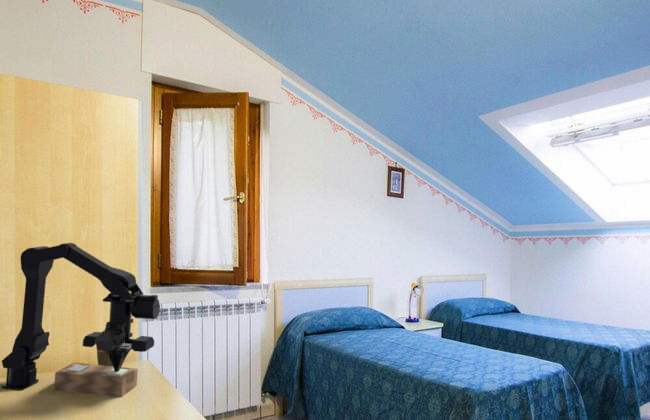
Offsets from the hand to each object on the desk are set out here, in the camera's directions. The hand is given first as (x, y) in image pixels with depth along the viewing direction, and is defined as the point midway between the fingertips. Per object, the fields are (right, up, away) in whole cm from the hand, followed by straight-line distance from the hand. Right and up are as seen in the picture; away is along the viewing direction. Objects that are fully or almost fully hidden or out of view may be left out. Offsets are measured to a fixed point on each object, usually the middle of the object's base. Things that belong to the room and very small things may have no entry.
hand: (117, 371), depth 126 cm
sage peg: (0, -5, 0) cm, 5 cm away
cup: (-8, -5, +12) cm, 15 cm away
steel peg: (-12, -4, +1) cm, 13 cm away
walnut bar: (-6, -5, +1) cm, 8 cm away
